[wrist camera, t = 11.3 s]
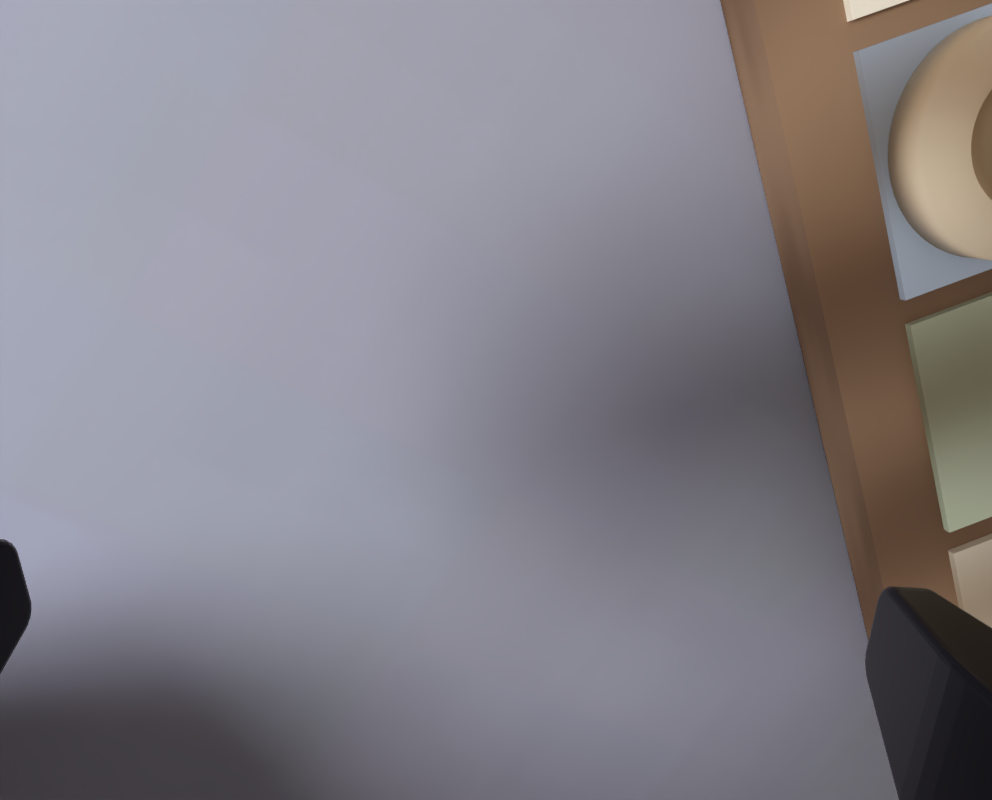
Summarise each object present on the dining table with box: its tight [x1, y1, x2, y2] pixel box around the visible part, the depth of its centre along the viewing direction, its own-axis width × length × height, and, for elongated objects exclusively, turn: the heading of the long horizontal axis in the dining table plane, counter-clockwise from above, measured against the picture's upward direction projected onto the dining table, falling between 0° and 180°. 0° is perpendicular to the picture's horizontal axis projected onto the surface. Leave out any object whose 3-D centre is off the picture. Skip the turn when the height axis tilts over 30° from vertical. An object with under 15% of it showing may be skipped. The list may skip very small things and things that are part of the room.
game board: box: [720, 0, 992, 641], centre depth 19 cm, size 25×9×2 cm, turn 19°
